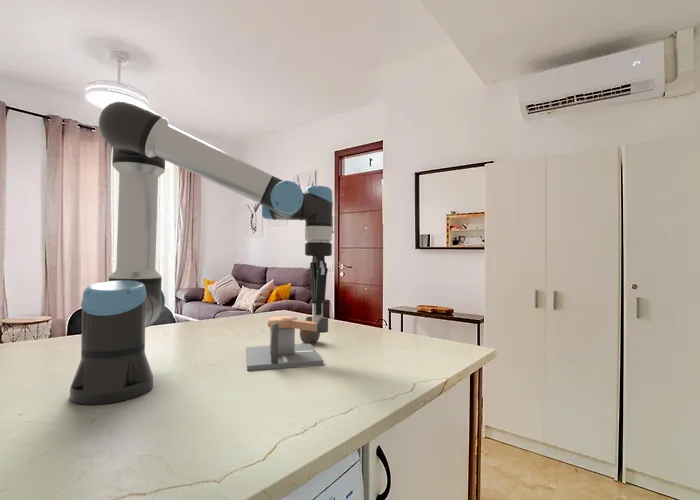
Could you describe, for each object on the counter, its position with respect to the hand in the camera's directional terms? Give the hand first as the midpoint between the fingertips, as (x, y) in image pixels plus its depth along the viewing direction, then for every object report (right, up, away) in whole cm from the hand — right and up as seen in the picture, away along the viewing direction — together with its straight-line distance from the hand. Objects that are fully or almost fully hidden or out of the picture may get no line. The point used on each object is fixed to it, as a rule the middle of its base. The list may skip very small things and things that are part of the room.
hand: (317, 325), depth 106 cm
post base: (-11, -10, +4) cm, 15 cm away
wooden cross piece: (-5, -1, 0) cm, 5 cm away
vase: (-5, -10, +22) cm, 25 cm away
